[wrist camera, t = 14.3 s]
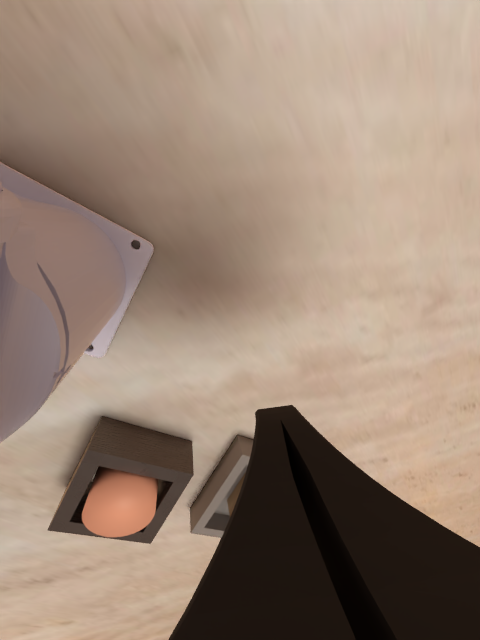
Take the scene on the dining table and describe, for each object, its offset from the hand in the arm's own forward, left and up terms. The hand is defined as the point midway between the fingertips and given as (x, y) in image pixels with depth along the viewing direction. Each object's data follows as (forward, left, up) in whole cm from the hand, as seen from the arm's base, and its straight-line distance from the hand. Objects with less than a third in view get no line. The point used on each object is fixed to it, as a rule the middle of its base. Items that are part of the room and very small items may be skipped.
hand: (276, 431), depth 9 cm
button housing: (-2, -13, -10) cm, 16 cm away
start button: (-2, -13, -9) cm, 16 cm away
